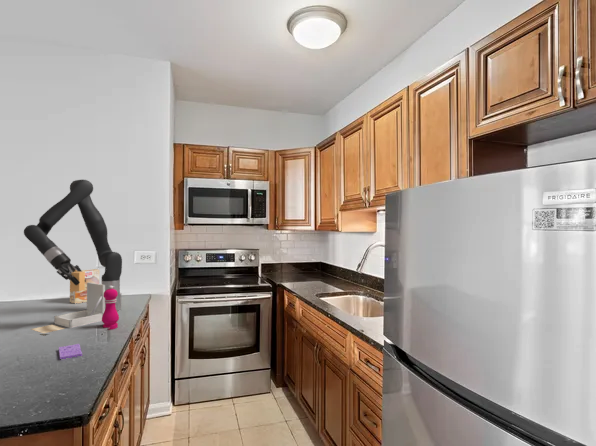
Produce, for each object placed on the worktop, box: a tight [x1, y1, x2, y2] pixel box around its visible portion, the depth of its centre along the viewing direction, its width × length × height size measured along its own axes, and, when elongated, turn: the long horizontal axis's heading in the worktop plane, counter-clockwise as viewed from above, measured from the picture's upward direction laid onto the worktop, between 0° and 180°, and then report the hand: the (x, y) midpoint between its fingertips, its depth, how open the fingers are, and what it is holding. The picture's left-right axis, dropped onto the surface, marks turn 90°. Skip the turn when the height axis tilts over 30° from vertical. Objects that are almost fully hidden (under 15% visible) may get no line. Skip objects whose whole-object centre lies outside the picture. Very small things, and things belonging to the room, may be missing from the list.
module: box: [69, 272, 85, 292], centre depth 178 cm, size 4×4×9 cm
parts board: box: [30, 324, 66, 337], centre depth 167 cm, size 9×12×1 cm
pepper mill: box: [101, 286, 120, 331], centre depth 173 cm, size 7×7×20 cm
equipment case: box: [53, 283, 105, 329], centre depth 179 cm, size 17×14×18 cm
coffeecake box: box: [69, 268, 100, 305], centre depth 231 cm, size 15×7×20 cm, turn 147°
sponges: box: [58, 343, 83, 360], centre depth 139 cm, size 7×13×2 cm, turn 35°
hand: (81, 283), depth 178 cm, fingers closed on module, 4 cm apart
